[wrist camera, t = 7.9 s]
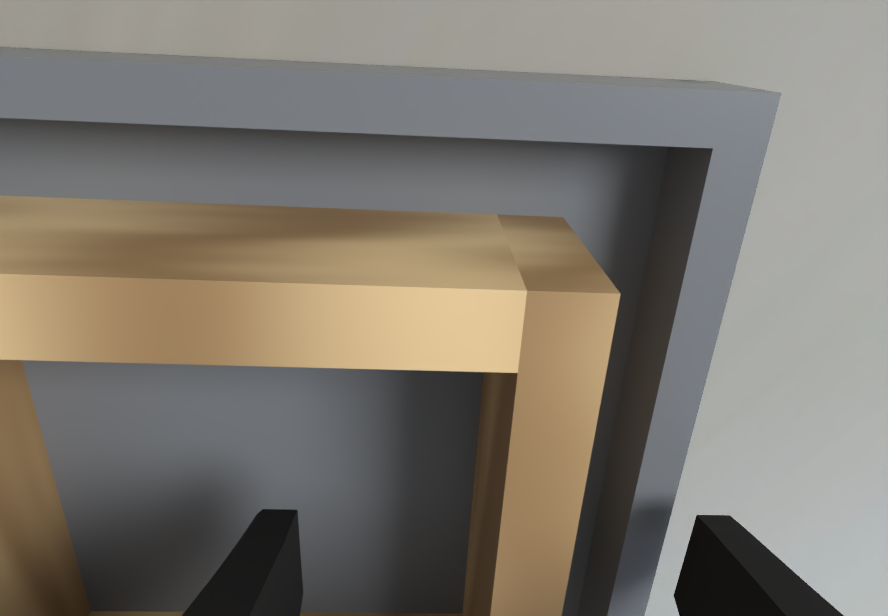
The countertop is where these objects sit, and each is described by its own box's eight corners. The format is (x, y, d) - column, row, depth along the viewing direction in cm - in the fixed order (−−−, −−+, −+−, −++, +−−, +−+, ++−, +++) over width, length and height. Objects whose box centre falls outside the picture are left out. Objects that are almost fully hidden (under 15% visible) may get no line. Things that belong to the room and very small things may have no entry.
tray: (713, 81, 11) (781, 93, 9) (583, 681, 17) (604, 766, 15) (-251, 34, 10) (-423, 35, 8) (1, 680, 16) (-57, 770, 14)
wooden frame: (563, 216, 11) (662, 349, 6) (506, 646, 16) (539, 899, 11) (-97, 191, 10) (-505, 317, 6) (50, 644, 15) (-110, 909, 11)
